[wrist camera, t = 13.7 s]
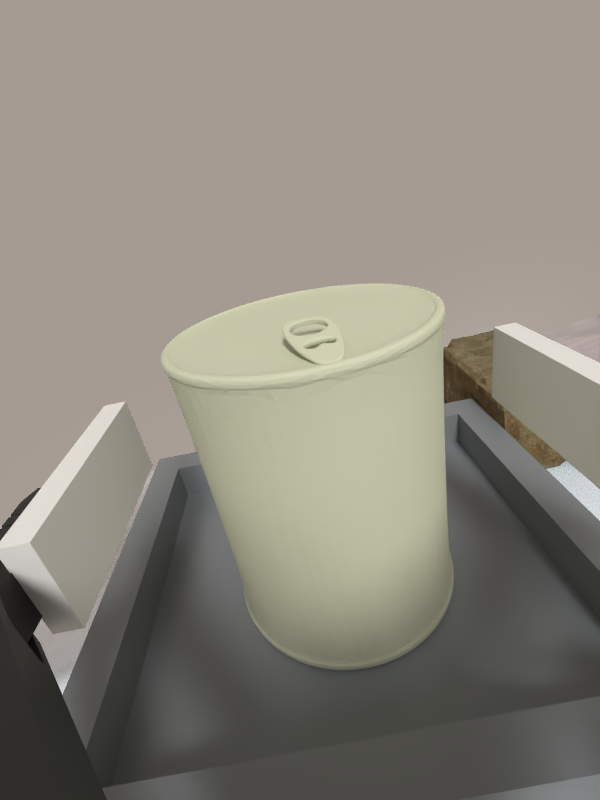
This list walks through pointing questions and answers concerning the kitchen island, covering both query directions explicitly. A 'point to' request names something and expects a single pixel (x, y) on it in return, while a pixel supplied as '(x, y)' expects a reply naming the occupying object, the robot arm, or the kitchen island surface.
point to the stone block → (487, 391)
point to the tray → (363, 688)
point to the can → (327, 464)
